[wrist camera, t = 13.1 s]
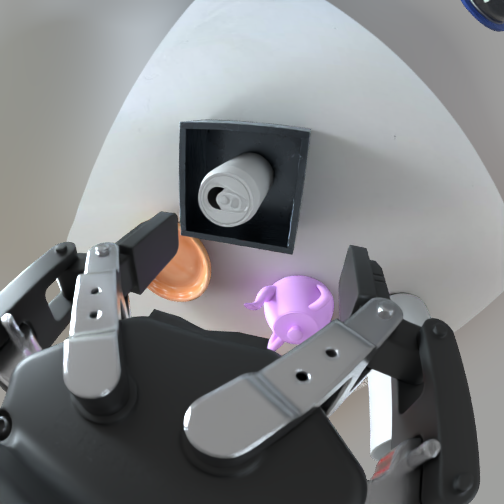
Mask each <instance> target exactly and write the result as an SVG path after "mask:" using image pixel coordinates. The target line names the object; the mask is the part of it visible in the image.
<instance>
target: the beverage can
mask: <svg viewBox="0 0 504 504" xmlns="http://www.w3.org/2000/svg"><path fill="white" fill-rule="evenodd" d="M273 179H274V174H273V169H272V167H271V165H270V163H269V162H268V161H267V160H266V159H265V158H264V157H263V156H261V155H259V154H256V153H243V154H240V155H238V156H236V157H234V158H232V159H231V160H229V161H227V162H225V163H224V164H222V165H220V166H218V167H217V168H215V169H213V170H212V171H210V172H209V173H208V174H207V175H206V176H205V178H204V179H203V181H202V183H201V186H200V189H199V194H198V201H199V205H200V208H201V210H202V212H203V214H204V215H205V216H206V217H207V218H208V219H209V220H210V221H211V222H213V223H215V224H217V225H219V226H224V227H233V226H237V225H240V224H243V223H245V222H247V221H248V220H250V219H251V218H252V217H253V216H254V215H255V213H256V211H257V210H258V208H259V206H260V205H261V203H262V201H263V200H264V198H265V196H266V195H267V193H268V191H269V190H270V188H271V186H272V184H273Z"/></svg>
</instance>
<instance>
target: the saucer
mask: <svg viewBox="0 0 504 504" xmlns="http://www.w3.org/2000/svg"><path fill="white" fill-rule="evenodd" d="M178 237H179V247H178V251H177V253H176V255H175V256H174V257H173V259H172V260H171V261H170V262H169V263H168V264H167V265H166V266H165V267H164V269H163V270H162V271H161V272H160V273H159V274H158V275H157V277H156V278H155V279H154V280H153V281H152V282H151V283H150V285H149V286H148V287H147V288H148V289H149V290H151V291H152V292H153V293H155V294H157V295H158V296H160V297H162V298H165V299H167V300H171V301H177V302H187V301H191V300H194V299H196V298H198V297H200V296H201V295H202V294H203V293H204V292H205V290H206V289H207V287H208V284H209V281H210V278H211V263H210V259H209V256H208V253H207V251H206V249H205V247H204V245H203V244H202V242H201V241H200V240H199V238H193V237H187V236H182V235H181V230H180V223H178Z"/></svg>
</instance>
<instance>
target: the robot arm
mask: <svg viewBox="0 0 504 504" xmlns="http://www.w3.org/2000/svg"><path fill="white" fill-rule="evenodd" d="M469 1H470V2H471V4H472V5H473V6H474V8H475V9H476V10H477V11H478V12H479V13H480V14H481V15H482V16H483V17H485V18H486V19H487V20H489V21H490V22H492V23H495V24H503V23H504V0H469ZM178 247H179V237H178V218H177V215H176V214H175V213H168V212H159V213H158V214H157V215H155V216H154V217H153V218H151V219H150V220H148V221H145V222H143V223H141V224H139V225H138V226H137V227H135V229H133V230H131V231H130V233H128V234H126V235H125V236H124V237H122V238H121V239H120V240H119V241H117V242H116V243H110V242H106V243H100V244H97V245H95V246H93V247H92V248H91V249H90V250H89V251H88V253H77V251H76V246H75V244H74V243H72V242H64V243H60V244H57V245H56V246H54V247H52V248H51V249H50V250H49V251H47V252H46V253H45V254H43V255H42V256H41V257H40V258H39V259H37V260H36V261H35V262H34V263H33V264H31V265H30V266H29V267H28V268H27V269H25V270H24V271H23V272H22V273H21V274H20V275H19V276H17V278H15V279H14V280H13V281H12V282H11V283H10V284H9V285H8V286H7V287H6V288H4V289H3V290H2V291H1V292H0V386H1V387H2V389H3V390H5V391H6V396H5V399H4V402H3V404H2V406H1V408H0V504H468V503H469V502H471V501H472V500H473V498H474V497H475V495H476V493H477V491H478V489H479V484H480V467H479V452H478V442H477V433H476V425H475V419H474V413H473V407H472V403H471V397H470V392H469V387H468V383H467V379H466V374H465V371H464V367H463V363H462V359H461V356H460V352H459V349H458V346H457V342H456V339H455V336H454V333H453V331H452V329H451V328H450V327H449V326H448V325H447V324H446V323H445V322H443V321H441V320H439V319H435V318H430V319H427V320H425V322H424V323H423V325H422V327H421V326H419V325H416V324H414V323H411V322H409V321H407V320H405V319H403V311H402V309H401V308H400V307H399V306H398V305H397V304H396V303H395V302H393V301H391V299H390V296H389V292H388V288H387V285H386V283H385V282H386V281H385V278H384V274H383V271H382V268H381V267H380V266H379V265H378V263H377V262H376V261H373V260H370V259H369V256H368V252H367V249H366V248H363V247H358V246H353V245H350V246H349V248H348V251H347V255H346V258H345V262H344V265H343V269H342V272H341V276H340V280H339V319H335V320H333V321H331V322H330V323H329V324H327V325H326V326H325V327H323V328H322V329H320V330H319V331H318V332H316V333H315V334H314V335H312V336H311V337H309V338H308V339H306V340H305V341H304V342H302V343H301V344H299V345H298V346H296V347H295V348H293V349H292V350H290V351H289V352H288V353H286V354H285V355H283V356H281V355H280V354H278V353H276V352H275V351H273V350H271V349H268V343H269V339H267V338H262V337H257V336H253V335H249V334H244V333H240V332H224V331H208V330H204V329H202V328H200V327H198V326H196V325H194V324H192V323H190V322H188V321H186V320H185V319H183V318H181V317H179V316H175V315H172V314H168V313H165V312H162V311H158V310H155V309H154V310H153V312H152V313H151V314H150V316H149V317H146V316H140V317H131V310H130V301H129V296H128V294H129V293H130V292H133V293H136V294H139V295H141V294H142V293H143V291H144V290H145V289H146V288H147V287H148V286H149V285H150V283H151V282H152V281H153V280H154V279H155V278H156V277H157V275H158V274H159V273H160V272H161V271H162V270H163V269H164V267H165V266H166V265H167V264H168V263H169V262H170V261H171V260H172V259H173V257H174V256H175V255H176V253H177V251H178ZM56 279H57V281H58V284H59V287H60V289H61V292H60V293H59V294H58V295H57V296H56V297H55V298H54V299H53V300H52V301H51V302H50V303H49V304H48V303H47V301H46V298H45V292H46V289H47V288H48V287H49V286H50V285H51V284H52V283H53V282H54V281H55V280H56ZM70 322H71V328H70V336H69V337H68V338H66V340H65V342H62V343H60V344H57V345H54V346H51V345H52V344H53V343H54V341H55V340H56V339H57V338H58V336H59V335H60V334H61V332H62V331H63V330H64V329H65V328H66V326H67V325H68V324H69V323H70ZM50 346H51V347H50ZM372 370H375V371H378V372H380V373H383V374H385V375H388V376H390V377H391V389H392V438H391V451H390V452H388V453H387V454H385V455H384V456H383V457H382V458H381V459H380V460H379V462H378V464H377V465H376V469H375V473H374V475H373V477H372V478H371V479H370V480H367V479H366V475H365V473H364V470H363V468H362V467H361V465H360V464H359V462H358V461H357V459H356V458H355V457H354V455H353V454H352V452H351V451H350V449H349V448H348V447H347V445H346V444H345V442H344V441H343V439H342V438H341V436H340V435H339V433H338V432H337V430H336V429H335V427H334V426H333V425H332V423H331V422H330V420H329V419H328V417H330V416H331V415H332V414H333V413H334V412H335V410H336V409H337V408H338V407H339V406H340V405H341V403H342V402H343V401H344V400H345V399H346V398H347V397H348V396H349V395H350V394H351V393H352V392H353V391H354V390H355V389H356V388H357V387H358V385H359V384H360V383H361V382H362V381H363V380H364V379H365V378H366V377H367V376H368V375H369V374H370V372H371V371H372Z"/></svg>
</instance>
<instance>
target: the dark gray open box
mask: <svg viewBox="0 0 504 504" xmlns="http://www.w3.org/2000/svg"><path fill="white" fill-rule="evenodd" d="M310 134H311V129H309V128H302V127H295V126H287V125H278V124H269V123H258V122H246V121H230V120H195V121H186V122H180V143H179V197H180V230H181V235H182V236H187V237H193V238H199V239H205V240H211V241H217V242H223V243H228V244H234V245H240V246H246V247H252V248H258V249H263V250H269V251H275V252H281V253H286V254H293V250H294V244H295V239H296V233H297V227H298V221H299V214H300V208H301V201H302V194H303V187H304V180H305V173H306V165H307V158H308V150H309V142H310ZM243 153H256V154H259V155H261V156H263V157H264V158H265V159H266V160H267V161H268V162H269V163H270V165H271V167H272V169H273V174H274V179H273V184H272V186H271V188H270V190H269V191H268V193H267V195H266V196H265V198H264V200H263V201H262V203H261V205H260V206H259V208H258V210H257V211H256V213H255V215H254V216H253V217H252V218H251V219H250V220H248V221H247V222H245V223H243V224H240V225H237V226H233V227H224V226H219V225H217V224H215V223H213V222H211V221H210V220H209V219H208V218H207V217H206V216H205V215H204V214H203V212H202V210H201V208H200V205H199V201H198V194H199V189H200V186H201V183H202V181H203V179H204V178H205V176H206V175H207V174H208V173H209V172H210V171H212V170H213V169H215V168H217V167H218V166H220V165H222V164H224V163H225V162H227V161H229V160H231V159H232V158H234V157H236V156H238V155H240V154H243Z"/></svg>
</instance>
